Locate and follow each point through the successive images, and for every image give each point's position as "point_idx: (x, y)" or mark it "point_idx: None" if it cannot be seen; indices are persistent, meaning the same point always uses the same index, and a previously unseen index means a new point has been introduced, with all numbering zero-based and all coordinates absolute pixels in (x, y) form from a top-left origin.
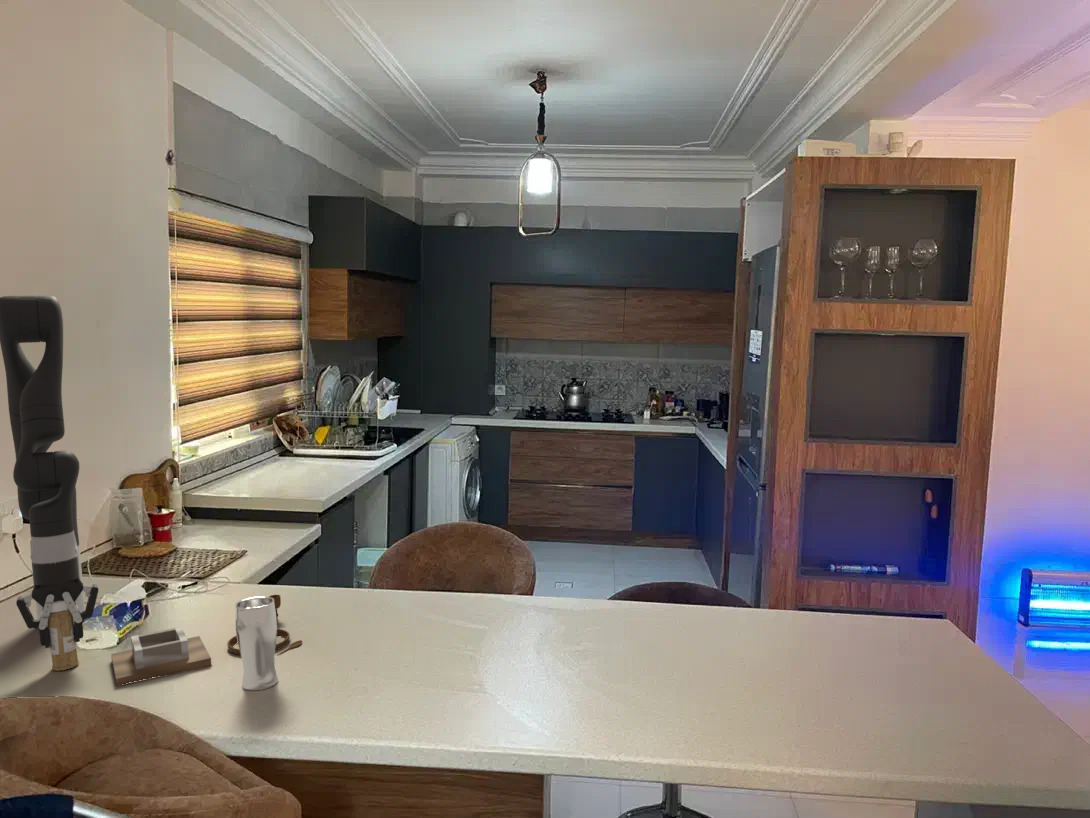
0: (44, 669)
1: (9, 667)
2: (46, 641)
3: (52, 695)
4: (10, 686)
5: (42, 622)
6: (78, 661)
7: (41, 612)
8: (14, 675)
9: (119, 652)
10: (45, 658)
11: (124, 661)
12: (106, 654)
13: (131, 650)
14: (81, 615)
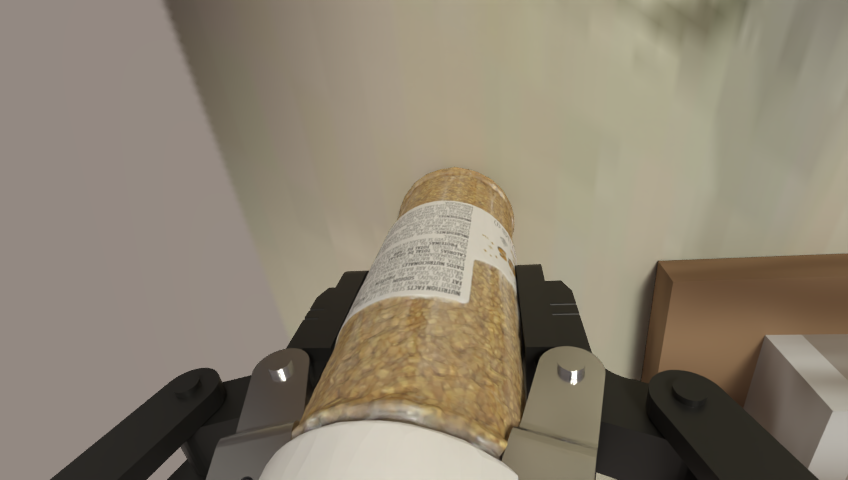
0: (367, 197)
1: (190, 73)
2: None
3: None
4: (282, 311)
5: None
6: (513, 229)
7: (225, 440)
8: (256, 203)
9: (715, 282)
10: (336, 17)
11: None
12: (654, 138)
13: (779, 288)
14: (603, 466)
